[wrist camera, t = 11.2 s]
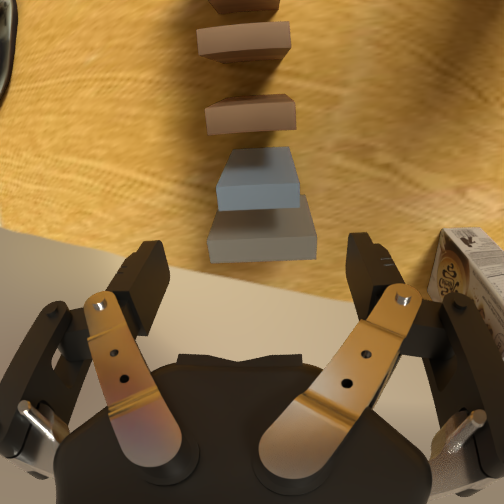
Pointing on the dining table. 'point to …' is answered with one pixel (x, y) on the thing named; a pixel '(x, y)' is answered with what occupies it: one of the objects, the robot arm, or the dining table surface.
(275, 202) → the slate domino
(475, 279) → the coffee box
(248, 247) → the block
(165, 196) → the dining table surface
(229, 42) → the walnut domino
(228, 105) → the walnut domino
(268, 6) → the walnut domino
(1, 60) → the salad plate
